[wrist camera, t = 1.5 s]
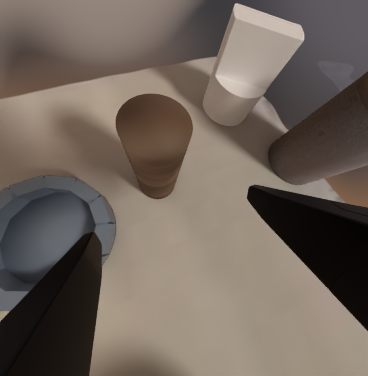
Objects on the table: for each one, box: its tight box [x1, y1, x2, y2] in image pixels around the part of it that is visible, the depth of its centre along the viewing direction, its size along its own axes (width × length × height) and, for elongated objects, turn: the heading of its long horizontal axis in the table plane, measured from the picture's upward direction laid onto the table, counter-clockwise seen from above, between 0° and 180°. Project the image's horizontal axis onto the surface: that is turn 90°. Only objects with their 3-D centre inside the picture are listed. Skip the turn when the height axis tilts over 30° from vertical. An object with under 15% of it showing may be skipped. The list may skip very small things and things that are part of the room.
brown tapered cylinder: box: [116, 94, 193, 199], centre depth 15 cm, size 5×5×12 cm
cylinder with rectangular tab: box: [203, 3, 304, 126], centre depth 22 cm, size 9×9×12 cm
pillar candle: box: [269, 72, 368, 185], centre depth 20 cm, size 10×10×15 cm
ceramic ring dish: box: [0, 175, 116, 311], centre depth 16 cm, size 13×13×3 cm
